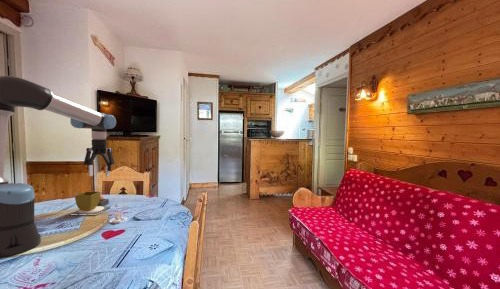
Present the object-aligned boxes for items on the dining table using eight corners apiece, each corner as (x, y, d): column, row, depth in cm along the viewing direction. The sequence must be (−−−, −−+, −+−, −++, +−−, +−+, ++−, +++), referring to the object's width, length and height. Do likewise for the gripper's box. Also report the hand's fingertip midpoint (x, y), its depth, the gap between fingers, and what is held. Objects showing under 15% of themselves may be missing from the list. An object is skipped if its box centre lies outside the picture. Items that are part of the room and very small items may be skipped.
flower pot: (90, 212, 124) (90, 195, 124) (74, 211, 124) (74, 195, 124) (101, 207, 133) (101, 191, 133) (85, 206, 133) (85, 191, 133)
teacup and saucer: (118, 225, 111) (118, 216, 111) (104, 223, 112) (104, 215, 112) (131, 219, 119) (131, 211, 119) (117, 217, 121) (117, 209, 121)
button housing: (101, 207, 137) (101, 202, 137) (89, 206, 137) (89, 201, 136) (108, 203, 144) (108, 198, 144) (97, 203, 144) (97, 198, 143)
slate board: (95, 215, 122) (95, 213, 122) (70, 215, 122) (70, 213, 122) (110, 208, 135) (110, 206, 135) (87, 207, 135) (87, 205, 135)
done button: (100, 202, 138) (100, 197, 138) (93, 202, 138) (93, 197, 138) (104, 200, 142) (104, 195, 142) (98, 200, 142) (98, 195, 142)
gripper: (121, 139, 143) (121, 175, 143) (84, 138, 142) (85, 174, 143) (114, 139, 135) (114, 177, 136) (75, 138, 135) (76, 177, 136)
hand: (99, 176), depth 139 cm, fingers open, 9 cm apart
